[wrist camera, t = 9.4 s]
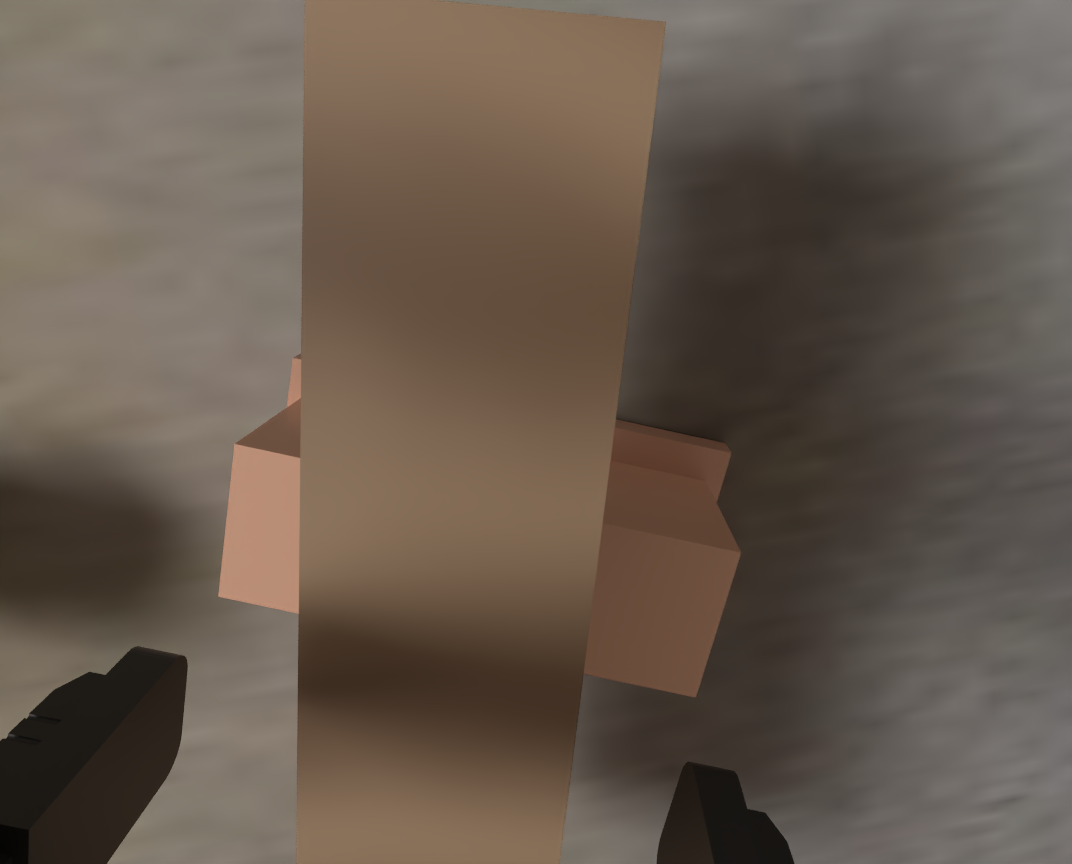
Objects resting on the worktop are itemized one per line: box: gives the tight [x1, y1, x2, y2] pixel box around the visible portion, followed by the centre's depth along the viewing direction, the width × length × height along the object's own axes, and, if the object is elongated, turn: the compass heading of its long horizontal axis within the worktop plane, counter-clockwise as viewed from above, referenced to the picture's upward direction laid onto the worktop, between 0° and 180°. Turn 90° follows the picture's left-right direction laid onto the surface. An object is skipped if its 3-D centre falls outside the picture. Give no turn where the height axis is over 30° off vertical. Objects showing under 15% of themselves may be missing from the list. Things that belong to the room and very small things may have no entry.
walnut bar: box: [296, 0, 666, 864], centre depth 16 cm, size 22×5×5 cm, turn 175°
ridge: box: [218, 354, 741, 698], centre depth 22 cm, size 6×13×6 cm, turn 78°
